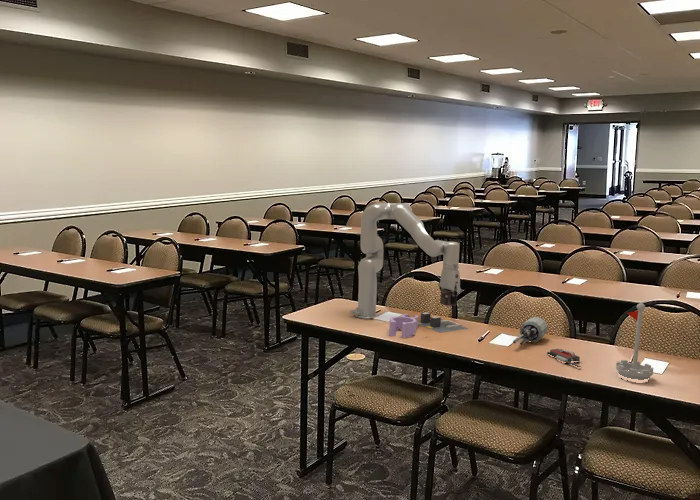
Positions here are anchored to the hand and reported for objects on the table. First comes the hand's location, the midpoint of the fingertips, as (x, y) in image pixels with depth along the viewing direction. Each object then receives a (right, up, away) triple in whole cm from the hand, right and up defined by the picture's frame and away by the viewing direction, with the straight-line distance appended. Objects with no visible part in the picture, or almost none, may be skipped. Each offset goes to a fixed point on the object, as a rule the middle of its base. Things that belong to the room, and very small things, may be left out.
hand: (448, 301), depth 295 cm
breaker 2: (-7, -12, -3) cm, 14 cm away
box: (0, -1, 0) cm, 2 cm away
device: (+33, -18, -23) cm, 44 cm away
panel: (-4, -13, 0) cm, 14 cm away
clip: (-23, -14, -11) cm, 29 cm away
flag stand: (+62, -24, -64) cm, 92 cm away
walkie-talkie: (+42, -22, -47) cm, 67 cm away
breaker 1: (-11, -11, +5) cm, 16 cm away
